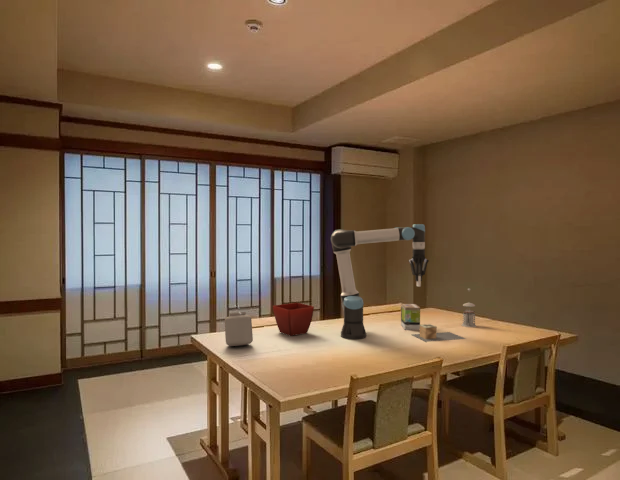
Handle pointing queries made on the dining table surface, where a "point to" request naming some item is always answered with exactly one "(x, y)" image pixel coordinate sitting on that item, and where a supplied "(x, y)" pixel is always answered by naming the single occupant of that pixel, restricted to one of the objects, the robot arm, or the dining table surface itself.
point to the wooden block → (428, 331)
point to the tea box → (410, 316)
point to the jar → (238, 329)
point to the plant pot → (293, 318)
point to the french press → (468, 316)
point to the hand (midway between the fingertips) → (418, 286)
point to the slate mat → (440, 337)
